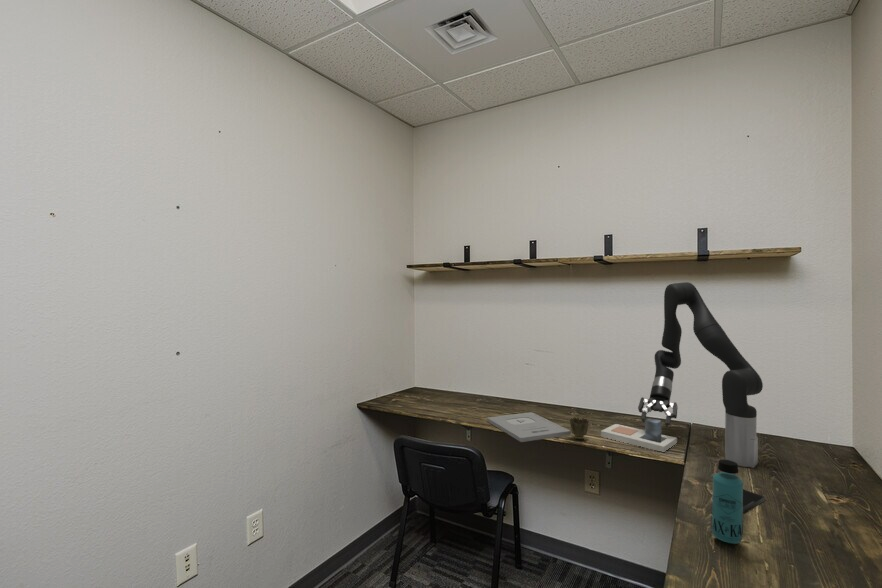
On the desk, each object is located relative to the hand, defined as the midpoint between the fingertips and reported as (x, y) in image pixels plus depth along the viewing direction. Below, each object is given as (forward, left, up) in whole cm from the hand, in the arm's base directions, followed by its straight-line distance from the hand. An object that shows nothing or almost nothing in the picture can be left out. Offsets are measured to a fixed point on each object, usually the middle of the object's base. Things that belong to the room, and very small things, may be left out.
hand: (654, 423), depth 175 cm
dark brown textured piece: (+23, +19, -8) cm, 31 cm away
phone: (-36, +33, -8) cm, 49 cm away
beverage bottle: (-39, +60, -8) cm, 72 cm away
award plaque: (+47, +22, -8) cm, 52 cm away
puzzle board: (+6, +3, -8) cm, 10 cm away
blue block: (0, +3, -8) cm, 8 cm away
